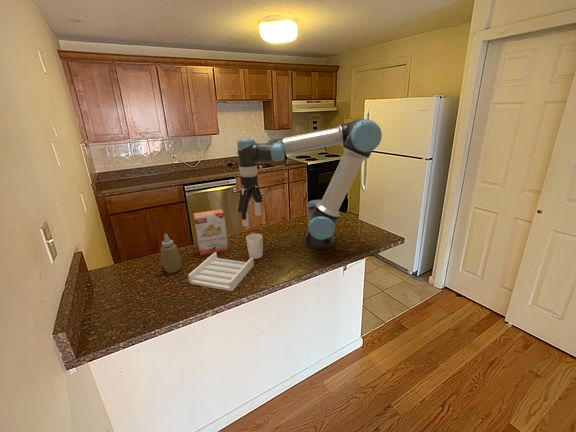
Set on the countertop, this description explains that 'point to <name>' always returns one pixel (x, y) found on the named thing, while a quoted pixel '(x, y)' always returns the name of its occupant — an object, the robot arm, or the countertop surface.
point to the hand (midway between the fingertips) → (252, 220)
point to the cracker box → (211, 231)
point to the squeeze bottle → (170, 256)
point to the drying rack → (220, 273)
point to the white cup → (255, 245)
